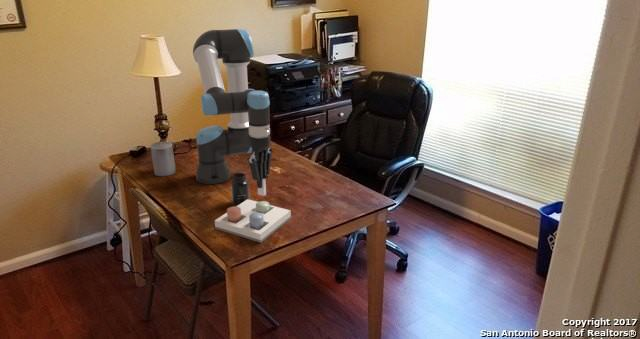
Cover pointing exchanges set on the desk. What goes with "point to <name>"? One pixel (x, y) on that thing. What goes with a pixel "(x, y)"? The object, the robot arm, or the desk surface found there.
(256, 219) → the slate button
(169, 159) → the pillar candle
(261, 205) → the sage button
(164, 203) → the desk surface
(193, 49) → the robot arm
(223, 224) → the console
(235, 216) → the terracotta button
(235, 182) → the supplement bottle
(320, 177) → the desk surface
